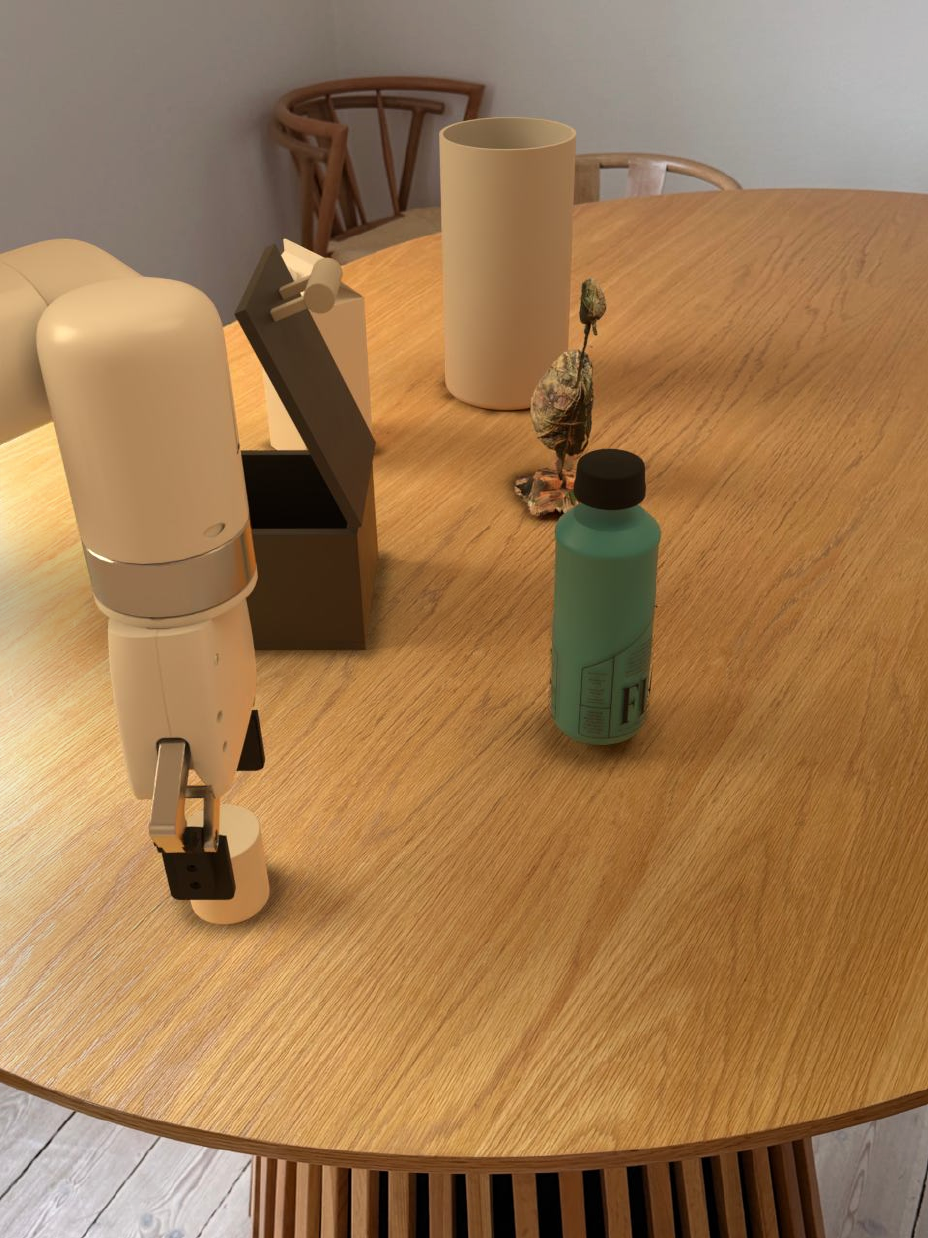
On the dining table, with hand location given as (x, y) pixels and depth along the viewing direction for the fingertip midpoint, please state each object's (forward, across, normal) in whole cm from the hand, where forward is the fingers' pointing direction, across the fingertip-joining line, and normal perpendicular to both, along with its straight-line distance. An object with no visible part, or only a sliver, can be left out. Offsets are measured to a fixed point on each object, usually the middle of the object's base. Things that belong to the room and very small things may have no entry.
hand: (222, 827), depth 65 cm
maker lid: (-12, -30, +2) cm, 32 cm away
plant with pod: (+6, -47, +20) cm, 52 cm away
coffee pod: (+6, 0, 0) cm, 6 cm away
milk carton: (+5, -55, -1) cm, 56 cm away
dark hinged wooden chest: (+5, -30, -2) cm, 30 cm away
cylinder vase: (+5, -69, +16) cm, 71 cm away
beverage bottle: (+6, -14, +21) cm, 26 cm away
